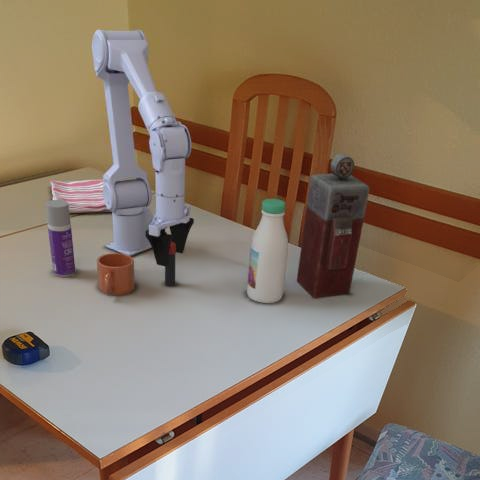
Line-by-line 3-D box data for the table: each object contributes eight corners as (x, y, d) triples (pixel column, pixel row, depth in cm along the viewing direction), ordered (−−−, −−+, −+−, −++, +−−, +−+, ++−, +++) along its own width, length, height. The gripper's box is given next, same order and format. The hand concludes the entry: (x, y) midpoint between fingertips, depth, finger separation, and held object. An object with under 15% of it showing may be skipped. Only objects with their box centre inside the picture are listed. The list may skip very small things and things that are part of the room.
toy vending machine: (318, 303, 133) (340, 166, 116) (296, 280, 141) (313, 149, 124) (355, 299, 136) (381, 164, 119) (331, 277, 144) (353, 148, 127)
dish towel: (54, 215, 162) (53, 202, 160) (50, 186, 180) (48, 174, 177) (121, 213, 167) (120, 200, 165) (110, 185, 184) (109, 173, 182)
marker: (169, 280, 137) (169, 240, 131) (177, 284, 136) (178, 244, 130) (162, 284, 135) (162, 243, 130) (170, 287, 134) (170, 247, 129)
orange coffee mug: (104, 277, 136) (102, 251, 132) (138, 281, 135) (137, 255, 132) (90, 299, 127) (87, 271, 124) (126, 303, 127) (124, 275, 123)
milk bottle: (286, 292, 136) (298, 199, 124) (276, 307, 130) (287, 211, 118) (253, 284, 138) (261, 192, 126) (241, 299, 132) (249, 204, 120)
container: (70, 278, 134) (62, 208, 125) (49, 275, 135) (40, 205, 125) (79, 270, 138) (72, 201, 128) (59, 266, 138) (51, 198, 129)
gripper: (172, 207, 117) (172, 275, 125) (203, 186, 128) (201, 250, 136) (138, 200, 119) (140, 267, 127) (172, 180, 130) (172, 244, 138)
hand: (170, 258), depth 132 cm, fingers open, 7 cm apart
